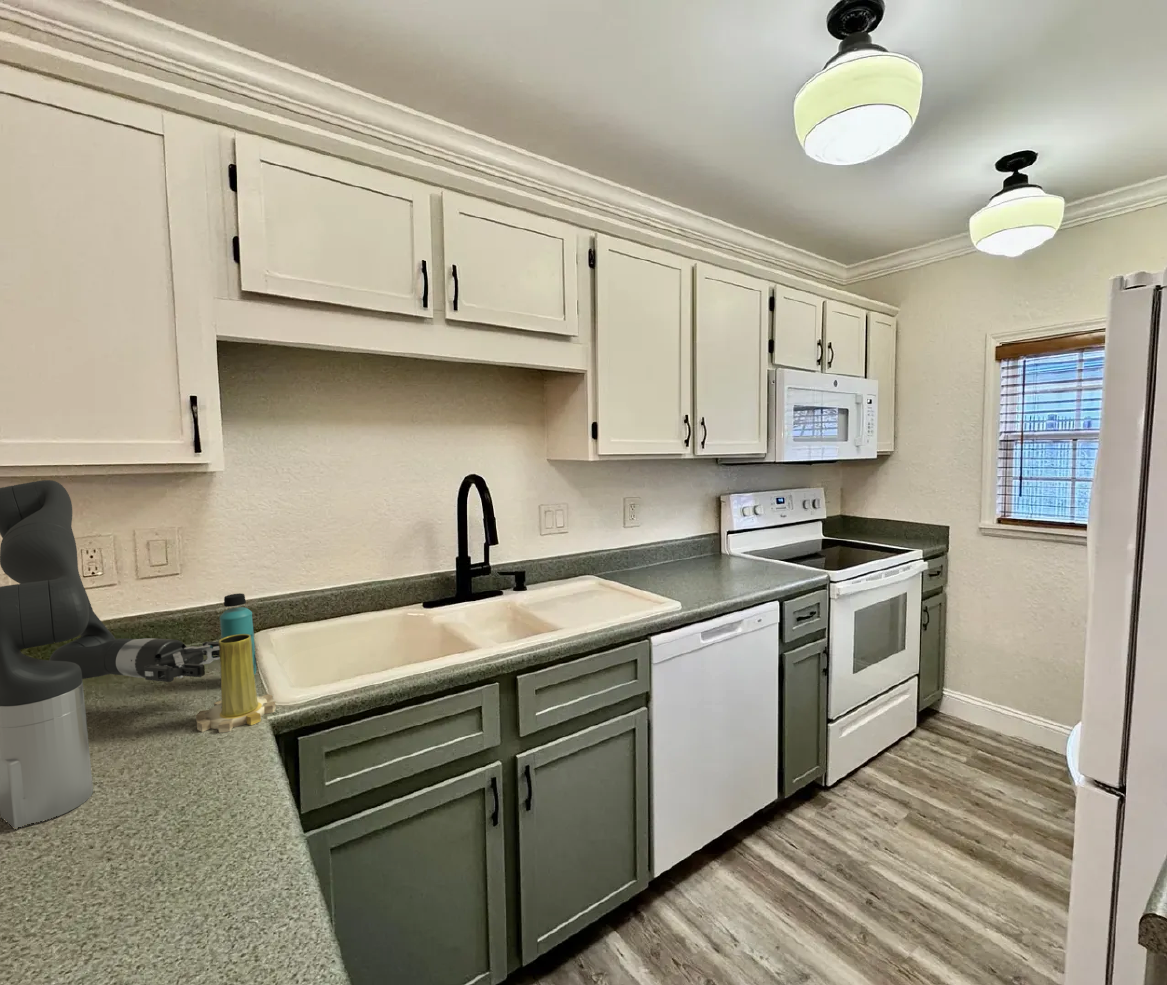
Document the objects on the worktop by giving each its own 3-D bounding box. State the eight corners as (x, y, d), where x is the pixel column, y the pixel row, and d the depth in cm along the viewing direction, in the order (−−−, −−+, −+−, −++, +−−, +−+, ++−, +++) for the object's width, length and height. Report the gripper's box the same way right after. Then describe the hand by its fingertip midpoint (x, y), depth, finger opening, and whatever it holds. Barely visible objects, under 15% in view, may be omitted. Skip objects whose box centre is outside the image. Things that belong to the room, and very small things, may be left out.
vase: (265, 704, 109) (260, 634, 108) (238, 719, 103) (233, 645, 102) (241, 701, 110) (236, 632, 109) (213, 715, 104) (207, 642, 103)
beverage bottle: (242, 688, 120) (235, 599, 119) (216, 686, 121) (209, 598, 120) (264, 676, 126) (258, 591, 125) (240, 674, 128) (234, 590, 126)
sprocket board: (218, 739, 99) (218, 731, 98) (182, 722, 105) (181, 715, 105) (289, 708, 110) (289, 701, 110) (252, 695, 117) (252, 688, 116)
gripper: (114, 652, 102) (188, 656, 99) (182, 628, 116) (249, 631, 113) (117, 691, 103) (191, 697, 100) (185, 662, 117) (251, 666, 114)
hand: (222, 662), depth 107 cm, fingers open, 8 cm apart
